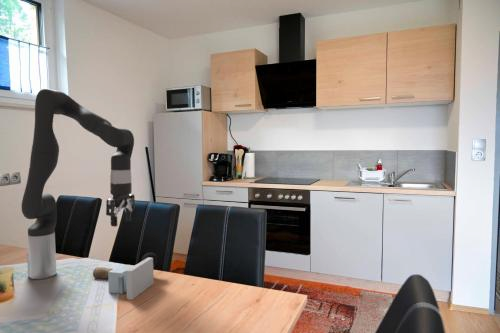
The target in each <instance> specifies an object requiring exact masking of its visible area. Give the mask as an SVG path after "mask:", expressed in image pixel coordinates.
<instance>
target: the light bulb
mask: <svg viewBox="0 0 500 333" xmlns="http://www.w3.org/2000/svg"><path fill="white" fill-rule="evenodd" d="M148 257H149V258H153V271H154V270H155V266H156V264H157V262H158V256H157V254H155V253H154V252H146V253H145V254H144V255H142V258H141V261H143V260H145V259H146V258H148Z"/></svg>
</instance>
